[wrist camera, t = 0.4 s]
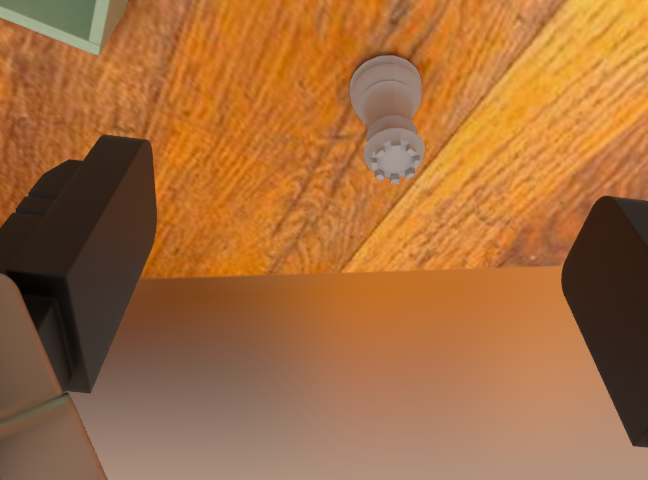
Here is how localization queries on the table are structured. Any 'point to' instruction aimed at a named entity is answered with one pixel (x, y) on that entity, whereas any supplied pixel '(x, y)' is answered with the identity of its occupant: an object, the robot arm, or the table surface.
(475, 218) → the table surface
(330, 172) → the table surface
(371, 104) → the rook chess piece
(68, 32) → the sage bin
